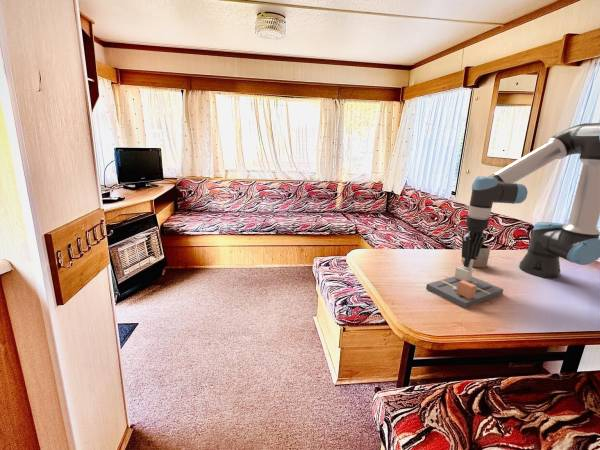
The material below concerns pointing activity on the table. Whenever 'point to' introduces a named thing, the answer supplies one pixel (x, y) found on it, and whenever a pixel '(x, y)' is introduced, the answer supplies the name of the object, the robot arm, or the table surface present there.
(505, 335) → the table surface
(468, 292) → the block
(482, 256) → the planter
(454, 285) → the grey slider base plate
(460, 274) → the block
